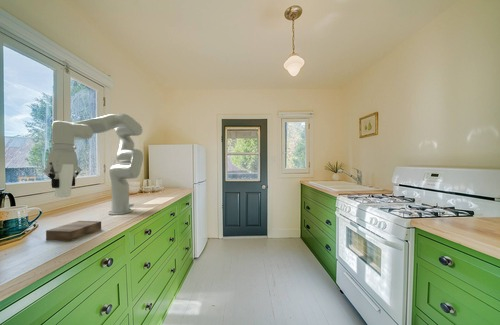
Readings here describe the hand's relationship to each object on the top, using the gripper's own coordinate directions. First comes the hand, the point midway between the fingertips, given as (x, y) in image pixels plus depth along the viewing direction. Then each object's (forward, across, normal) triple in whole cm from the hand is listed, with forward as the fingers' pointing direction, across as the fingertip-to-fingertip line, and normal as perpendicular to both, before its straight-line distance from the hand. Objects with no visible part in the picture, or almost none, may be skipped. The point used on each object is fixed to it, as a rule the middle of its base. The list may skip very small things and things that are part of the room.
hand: (63, 186), depth 90 cm
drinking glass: (+5, 0, 0) cm, 5 cm away
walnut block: (+21, +1, +8) cm, 23 cm away
